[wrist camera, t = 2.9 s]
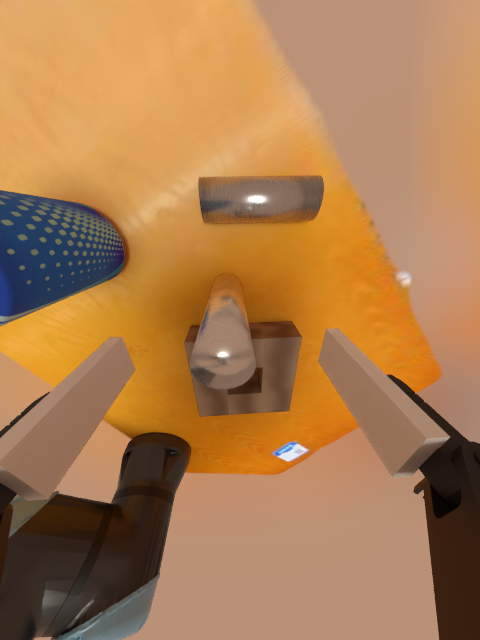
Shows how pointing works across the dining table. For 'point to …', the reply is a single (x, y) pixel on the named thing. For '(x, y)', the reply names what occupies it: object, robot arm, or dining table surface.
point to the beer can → (51, 252)
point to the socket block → (263, 387)
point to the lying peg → (260, 198)
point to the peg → (224, 338)
